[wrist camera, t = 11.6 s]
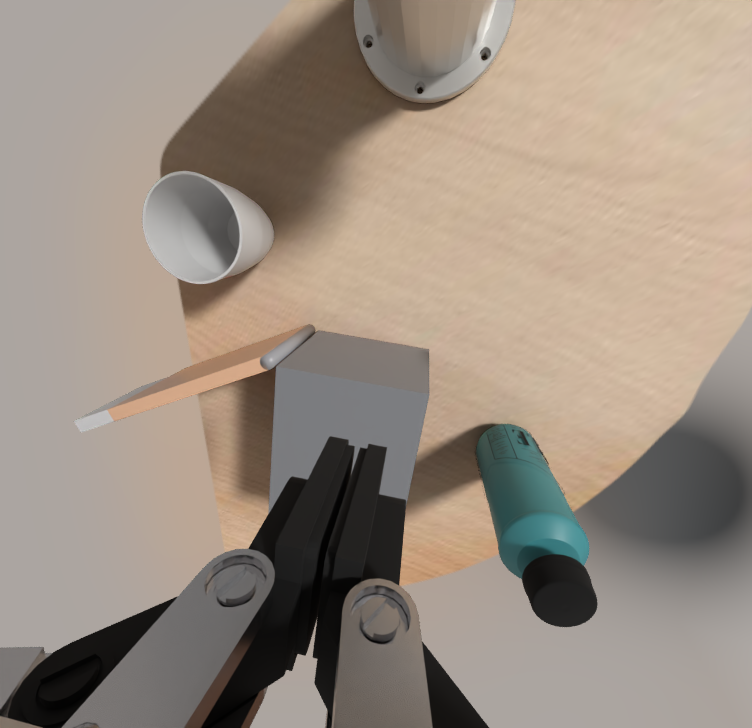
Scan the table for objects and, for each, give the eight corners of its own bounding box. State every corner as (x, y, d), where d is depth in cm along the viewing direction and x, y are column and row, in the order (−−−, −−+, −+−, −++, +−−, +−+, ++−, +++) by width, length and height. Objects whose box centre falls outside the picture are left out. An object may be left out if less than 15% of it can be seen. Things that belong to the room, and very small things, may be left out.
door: (312, 322, 39) (270, 353, 29) (317, 333, 40) (276, 367, 29) (158, 377, 44) (73, 421, 34) (163, 386, 44) (80, 432, 34)
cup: (201, 246, 39) (129, 248, 29) (230, 171, 36) (161, 148, 27) (268, 287, 39) (218, 303, 30) (302, 217, 36) (258, 209, 27)
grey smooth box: (319, 330, 40) (276, 366, 29) (429, 349, 39) (429, 394, 28) (307, 455, 45) (267, 527, 34) (404, 475, 44) (395, 555, 33)
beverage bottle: (466, 458, 43) (495, 632, 24) (482, 408, 40) (528, 555, 22) (522, 472, 42) (598, 659, 23) (542, 421, 40) (642, 584, 21)
